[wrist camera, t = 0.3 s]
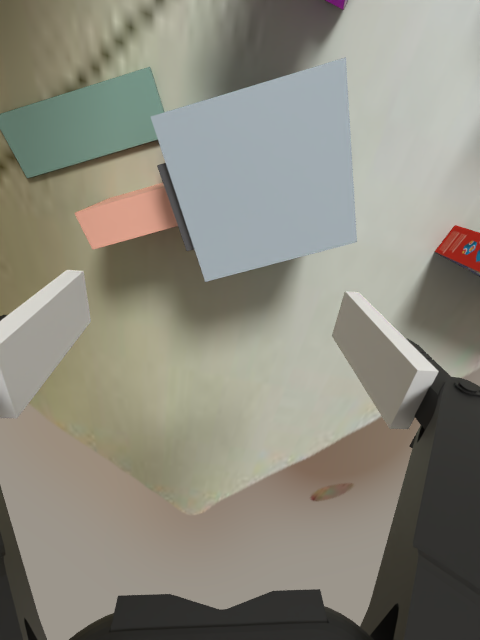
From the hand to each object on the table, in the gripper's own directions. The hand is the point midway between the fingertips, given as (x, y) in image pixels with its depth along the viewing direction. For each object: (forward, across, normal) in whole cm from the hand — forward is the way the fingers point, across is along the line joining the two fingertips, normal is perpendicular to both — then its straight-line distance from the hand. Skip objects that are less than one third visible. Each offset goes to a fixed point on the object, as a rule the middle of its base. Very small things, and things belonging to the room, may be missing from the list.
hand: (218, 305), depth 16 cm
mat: (+26, -15, +8) cm, 31 cm away
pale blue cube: (+26, +3, +5) cm, 26 cm away
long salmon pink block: (+26, -5, +2) cm, 26 cm away
